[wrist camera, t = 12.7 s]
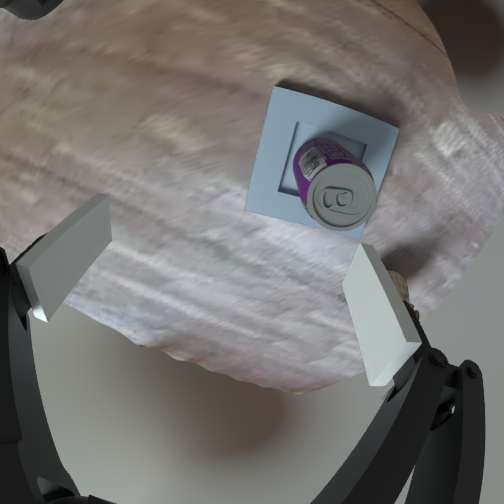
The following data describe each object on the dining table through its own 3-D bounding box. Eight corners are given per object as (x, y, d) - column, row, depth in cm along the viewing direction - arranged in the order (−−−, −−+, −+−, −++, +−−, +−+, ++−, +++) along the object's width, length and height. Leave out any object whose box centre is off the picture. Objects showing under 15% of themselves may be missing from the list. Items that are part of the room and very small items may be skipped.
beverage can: (293, 192, 35) (302, 237, 24) (290, 137, 31) (300, 158, 21) (347, 191, 34) (377, 234, 24) (348, 137, 30) (384, 158, 20)
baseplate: (273, 86, 29) (273, 85, 27) (392, 126, 30) (399, 128, 28) (245, 204, 37) (243, 210, 35) (354, 232, 38) (358, 239, 36)
